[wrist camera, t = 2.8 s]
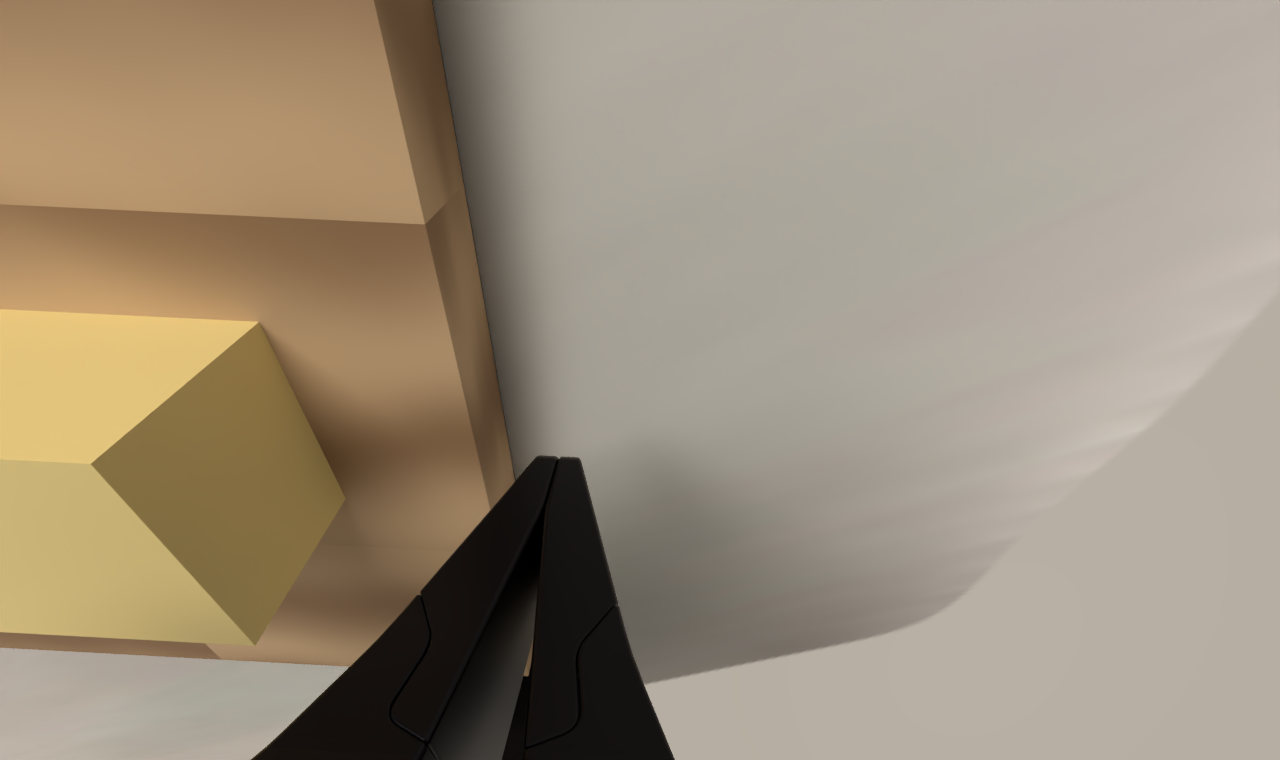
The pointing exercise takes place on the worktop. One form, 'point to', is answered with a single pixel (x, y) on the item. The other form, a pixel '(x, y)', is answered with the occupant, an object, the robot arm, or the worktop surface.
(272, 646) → the trap deck
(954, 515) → the worktop surface
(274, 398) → the mustard block
